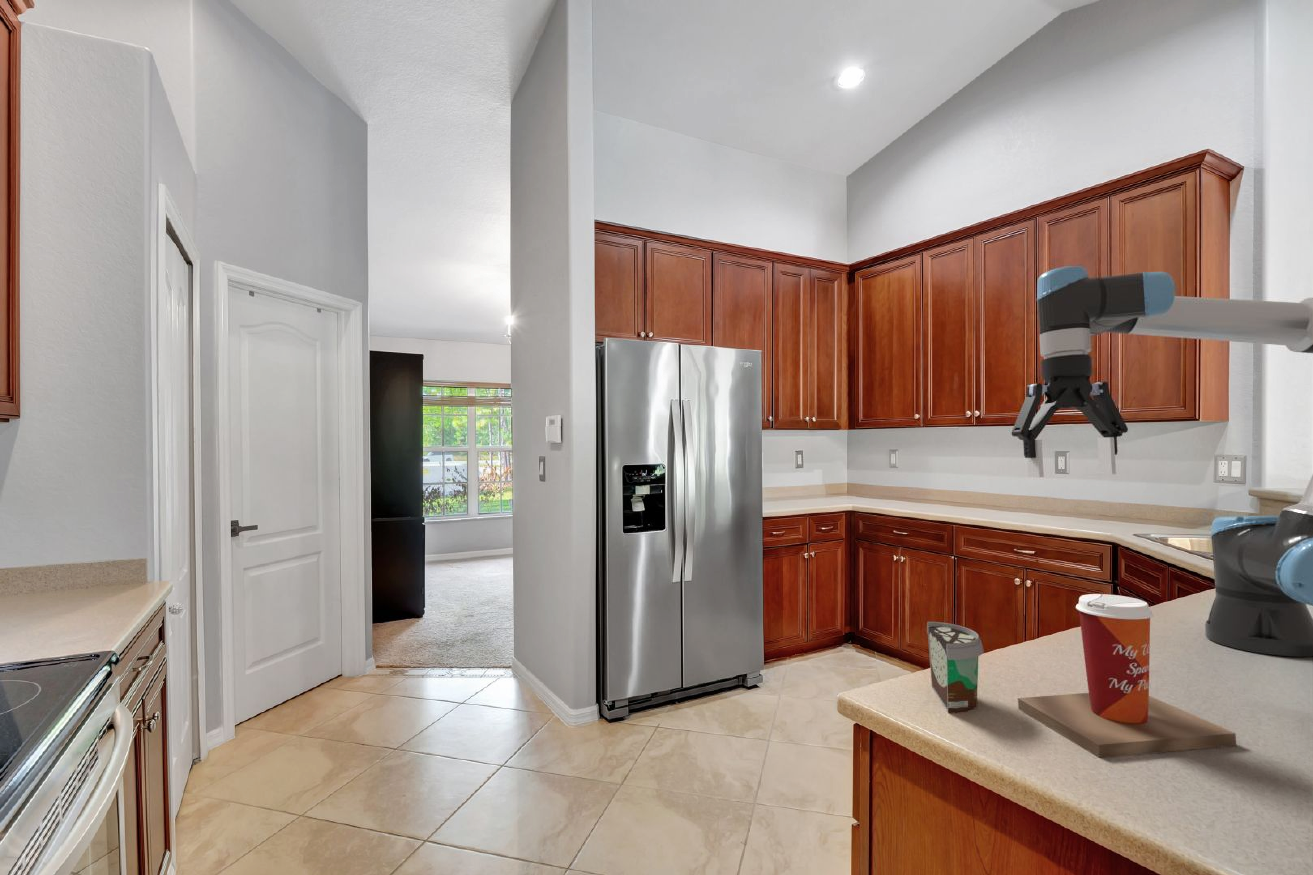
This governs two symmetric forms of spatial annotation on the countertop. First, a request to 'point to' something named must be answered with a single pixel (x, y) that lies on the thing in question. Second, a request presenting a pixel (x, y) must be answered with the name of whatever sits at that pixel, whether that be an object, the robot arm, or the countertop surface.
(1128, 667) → the coffee cup
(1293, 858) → the countertop surface
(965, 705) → the food container
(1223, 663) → the countertop surface
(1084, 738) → the walnut board
